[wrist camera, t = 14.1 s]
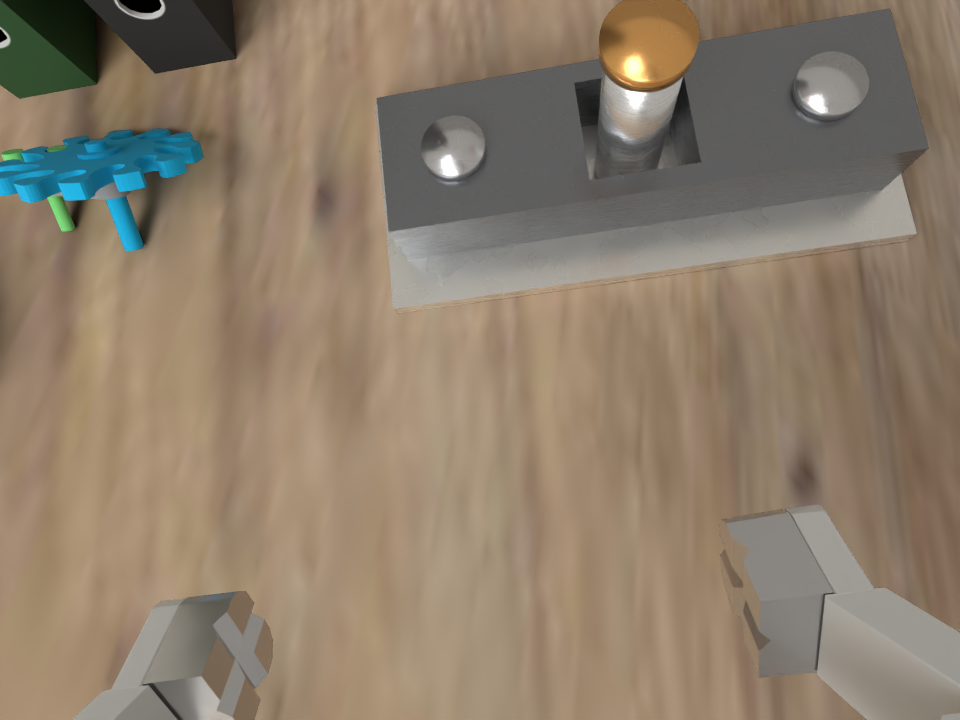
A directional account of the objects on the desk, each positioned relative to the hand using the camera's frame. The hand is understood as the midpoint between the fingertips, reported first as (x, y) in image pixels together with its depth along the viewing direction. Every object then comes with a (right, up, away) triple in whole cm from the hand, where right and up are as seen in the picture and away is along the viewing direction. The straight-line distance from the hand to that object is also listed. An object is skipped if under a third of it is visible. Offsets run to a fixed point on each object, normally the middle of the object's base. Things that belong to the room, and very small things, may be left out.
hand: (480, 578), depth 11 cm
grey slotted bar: (+8, +14, +24) cm, 28 cm away
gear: (-20, +14, +27) cm, 36 cm away
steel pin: (+8, +14, +23) cm, 28 cm away
